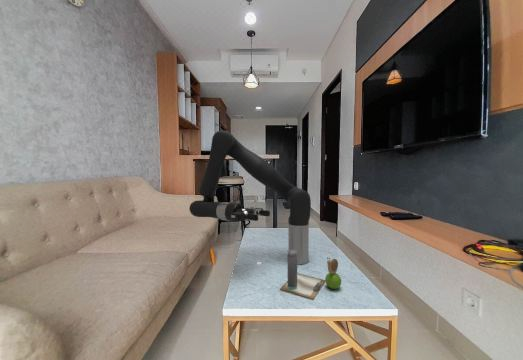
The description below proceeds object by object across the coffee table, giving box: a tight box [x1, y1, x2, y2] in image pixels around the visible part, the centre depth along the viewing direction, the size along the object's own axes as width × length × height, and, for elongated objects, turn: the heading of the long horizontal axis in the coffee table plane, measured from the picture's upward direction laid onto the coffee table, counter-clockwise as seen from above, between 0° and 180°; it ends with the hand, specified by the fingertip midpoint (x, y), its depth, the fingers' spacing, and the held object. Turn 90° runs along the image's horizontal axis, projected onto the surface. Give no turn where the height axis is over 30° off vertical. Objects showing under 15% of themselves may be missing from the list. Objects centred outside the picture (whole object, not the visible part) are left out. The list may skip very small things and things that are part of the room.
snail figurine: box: [324, 256, 342, 290], centre depth 80 cm, size 5×6×12 cm
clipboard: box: [279, 272, 326, 301], centre depth 82 cm, size 14×12×1 cm
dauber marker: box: [287, 249, 298, 290], centre depth 80 cm, size 3×3×13 cm
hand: (263, 215), depth 85 cm, fingers open, 8 cm apart
